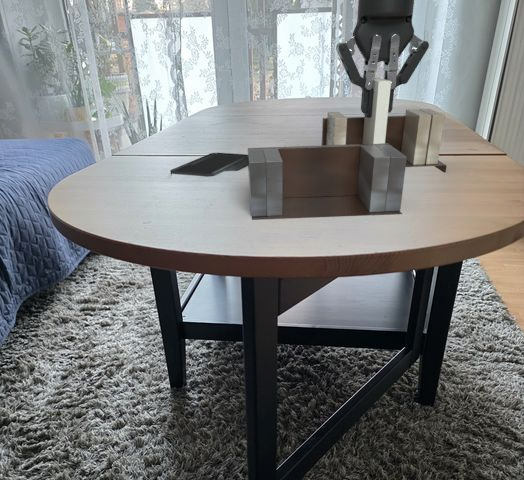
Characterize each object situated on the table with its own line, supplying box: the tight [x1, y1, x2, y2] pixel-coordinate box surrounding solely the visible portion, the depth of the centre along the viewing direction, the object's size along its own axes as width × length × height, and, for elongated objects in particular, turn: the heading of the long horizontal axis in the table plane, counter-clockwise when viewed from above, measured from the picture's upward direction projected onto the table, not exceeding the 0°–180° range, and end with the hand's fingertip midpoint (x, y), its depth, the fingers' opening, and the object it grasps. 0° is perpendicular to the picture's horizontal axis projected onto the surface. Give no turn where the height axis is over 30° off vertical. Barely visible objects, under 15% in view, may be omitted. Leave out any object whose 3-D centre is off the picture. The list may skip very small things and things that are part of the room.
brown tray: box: [321, 108, 447, 173], centre depth 79 cm, size 18×9×8 cm, turn 93°
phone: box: [169, 152, 248, 178], centre depth 82 cm, size 8×1×15 cm
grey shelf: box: [247, 143, 407, 221], centre depth 60 cm, size 17×9×7 cm, turn 93°
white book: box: [362, 77, 391, 144], centre depth 77 cm, size 2×7×10 cm, turn 3°
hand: (375, 116), depth 77 cm, fingers closed on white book, 2 cm apart
